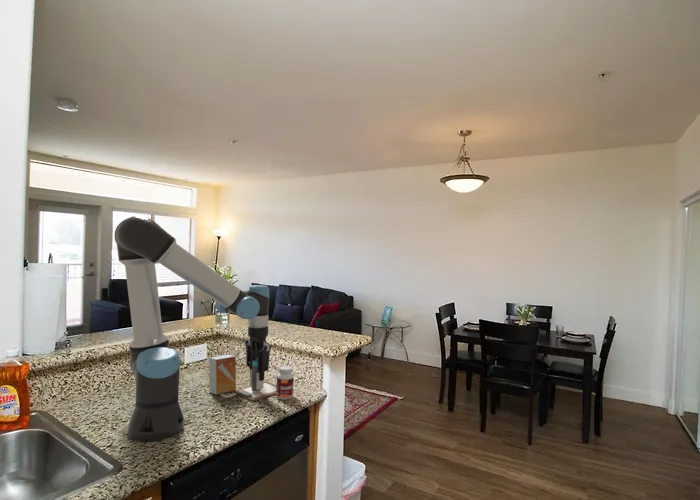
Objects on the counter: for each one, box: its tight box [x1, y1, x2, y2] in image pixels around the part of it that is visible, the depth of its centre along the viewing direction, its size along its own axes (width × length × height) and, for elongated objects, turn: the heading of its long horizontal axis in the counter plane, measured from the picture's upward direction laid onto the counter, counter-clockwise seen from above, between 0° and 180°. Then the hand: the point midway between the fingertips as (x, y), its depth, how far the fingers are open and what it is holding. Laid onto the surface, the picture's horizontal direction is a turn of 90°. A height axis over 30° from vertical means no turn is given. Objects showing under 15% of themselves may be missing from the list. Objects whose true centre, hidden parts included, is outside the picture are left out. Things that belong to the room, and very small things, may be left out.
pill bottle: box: [275, 365, 294, 401], centre depth 148 cm, size 6×6×11 cm
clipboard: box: [232, 380, 277, 403], centre depth 152 cm, size 16×13×1 cm
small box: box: [208, 354, 237, 395], centre depth 151 cm, size 8×6×13 cm
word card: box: [218, 391, 238, 399], centre depth 149 cm, size 7×5×1 cm
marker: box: [252, 360, 261, 394], centre depth 149 cm, size 4×4×12 cm
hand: (256, 387), depth 150 cm, fingers closed on marker, 3 cm apart
